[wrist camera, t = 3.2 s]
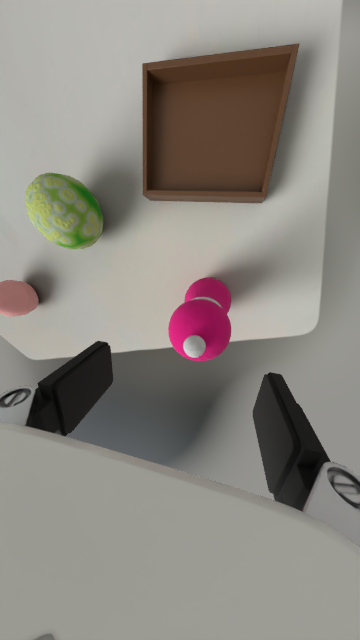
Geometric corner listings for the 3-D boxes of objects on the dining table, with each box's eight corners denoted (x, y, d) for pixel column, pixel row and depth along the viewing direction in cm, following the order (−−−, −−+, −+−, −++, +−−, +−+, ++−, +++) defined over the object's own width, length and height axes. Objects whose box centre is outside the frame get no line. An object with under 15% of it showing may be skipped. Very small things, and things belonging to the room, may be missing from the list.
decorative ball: (62, 233, 33) (2, 224, 24) (74, 176, 29) (7, 139, 20) (105, 260, 33) (61, 262, 24) (123, 206, 29) (78, 184, 20)
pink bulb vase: (12, 289, 41) (-64, 301, 30) (28, 271, 38) (-50, 277, 27) (35, 315, 42) (-30, 336, 31) (51, 300, 39) (-14, 317, 28)
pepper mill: (228, 272, 29) (241, 300, 11) (230, 312, 31) (245, 392, 13) (186, 278, 31) (138, 310, 13) (192, 315, 33) (157, 389, 15)
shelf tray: (289, 70, 20) (299, 43, 17) (261, 203, 25) (265, 197, 22) (151, 84, 23) (142, 63, 20) (150, 200, 28) (142, 194, 25)
